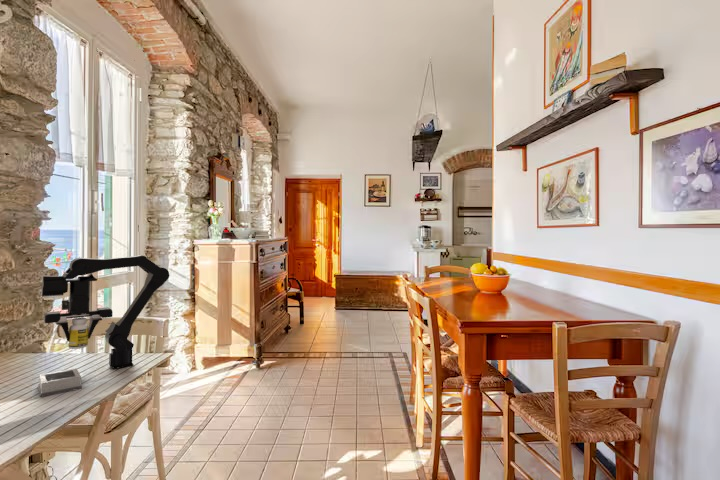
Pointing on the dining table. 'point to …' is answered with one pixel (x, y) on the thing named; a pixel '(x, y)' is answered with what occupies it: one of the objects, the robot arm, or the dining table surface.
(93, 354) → the dining table surface
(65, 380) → the socket collar
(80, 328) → the supplement bottle
